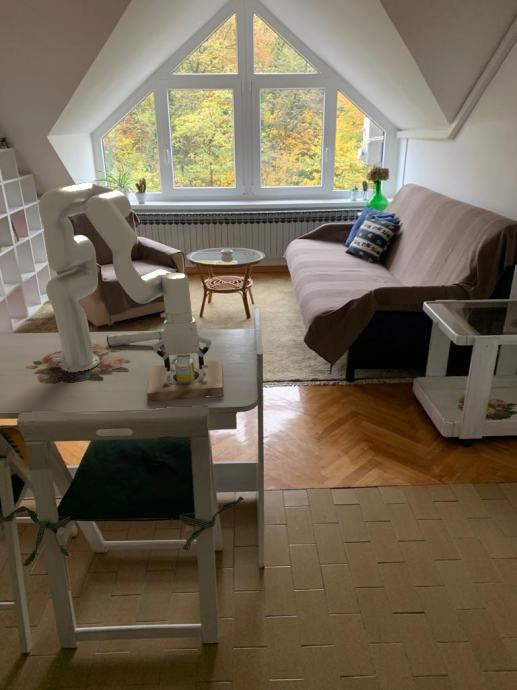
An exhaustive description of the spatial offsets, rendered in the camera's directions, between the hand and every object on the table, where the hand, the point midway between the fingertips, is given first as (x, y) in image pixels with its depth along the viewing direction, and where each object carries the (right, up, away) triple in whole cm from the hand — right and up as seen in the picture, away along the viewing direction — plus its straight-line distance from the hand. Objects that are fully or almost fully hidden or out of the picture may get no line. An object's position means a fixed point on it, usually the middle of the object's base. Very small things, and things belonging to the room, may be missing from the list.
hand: (184, 368), depth 167 cm
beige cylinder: (-3, +3, +21) cm, 22 cm away
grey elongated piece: (-20, +7, +33) cm, 39 cm away
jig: (0, -5, +2) cm, 6 cm away
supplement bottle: (0, -5, +2) cm, 6 cm away
